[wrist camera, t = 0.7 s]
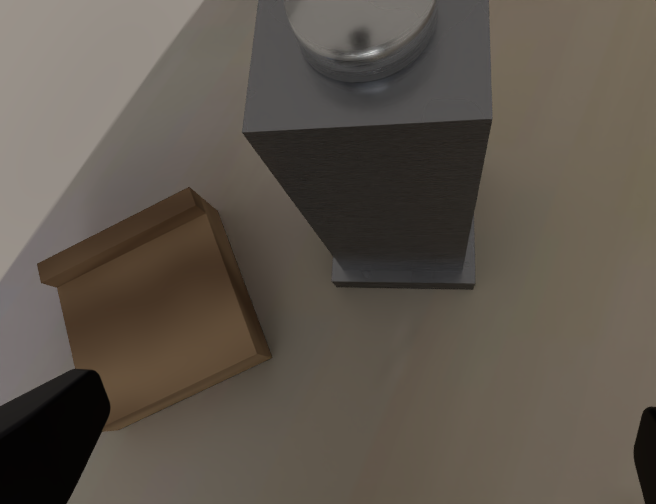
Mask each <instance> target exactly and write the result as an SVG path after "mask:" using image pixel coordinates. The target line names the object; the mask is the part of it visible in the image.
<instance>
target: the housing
mask: <svg viewBox="0 0 656 504" xmlns="http://www.w3.org/2000/svg"><path fill="white" fill-rule="evenodd" d="M491 123H492V91H491V60H490V28H489V0H258V8H257V16H256V24H255V32H254V40H253V48H252V56H251V64H250V72H249V80H248V88H247V96H246V104H245V112H244V120H243V129H242V133H243V134H244V136H245V137H246V139H247V140H248V141H249V143H250V144H251V145H252V147H253V148H254V149H255V151H256V152H257V154H258V155H259V156H260V158H261V159H262V160H263V162H264V163H265V164H266V166H267V167H268V168H269V170H270V171H271V173H272V174H273V175H274V177H275V178H276V179H277V181H278V182H279V183H280V185H281V186H282V187H283V189H284V190H285V192H286V193H287V194H288V196H289V197H290V198H291V200H292V201H293V202H294V204H295V205H296V207H297V208H298V209H299V211H300V212H301V213H302V215H303V216H304V217H305V219H306V220H307V221H308V223H309V224H310V226H311V227H312V228H313V230H314V231H315V232H316V234H317V235H318V236H319V238H320V239H321V240H322V242H323V243H324V245H325V246H326V247H327V249H328V250H329V251H330V253H331V254H332V255H333V265H332V282H333V284H334V285H335V286H336V287H357V288H411V289H466V290H473V289H474V286H475V246H474V210H475V205H476V200H477V195H478V189H479V184H480V179H481V174H482V169H483V164H484V159H485V154H486V149H487V144H488V139H489V133H490V128H491Z"/></svg>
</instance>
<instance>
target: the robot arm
mask: <svg viewBox="0 0 656 504" xmlns="http://www.w3.org/2000/svg"><path fill="white" fill-rule="evenodd" d="M110 409H111V406H110V401H109V398H108V396H107V393H106V390H105V388H104V385H103V382H102V380H101V377H100V375H99V374H98V373H97V372H96V371H95V370H91V369H72V370H70V371H68V372H66V373H64V374H62V375H60V376H58V377H56V378H54V379H52V380H50V381H48V382H46V383H44V384H43V385H41V386H39V387H37V388H35V389H33V390H31V391H29V392H27V393H25V394H23V395H21V396H19V397H17V398H15V399H13V400H11V401H9V402H7V403H5V404H3V405H2V406H0V504H67V502H68V500H69V498H70V497H71V495H72V493H73V491H74V489H75V487H76V485H77V483H78V481H79V479H80V477H81V474H82V472H83V470H84V468H85V466H86V464H87V462H88V460H89V458H90V455H91V453H92V451H93V449H94V447H95V445H96V443H97V441H98V439H99V437H100V434H101V432H102V430H103V428H104V426H105V424H106V422H107V420H108V417H109V414H110ZM634 462H635V466H636V470H637V474H638V478H639V482H640V486H641V489H642V493H643V497H644V501H645V504H656V407H648V408H646V409H645V410H644V411H643V414H642V417H641V421H640V425H639V429H638V433H637V437H636V441H635V445H634Z"/></svg>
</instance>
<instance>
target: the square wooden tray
mask: <svg viewBox="0 0 656 504" xmlns="http://www.w3.org/2000/svg"><path fill="white" fill-rule="evenodd" d="M37 266H38V271H39V276H40V280H41V283H43V284H46V285H50V286H53V287H57V289H58V294H59V298H60V303H61V307H62V312H63V316H64V321H65V325H66V329H67V334H68V338H69V343H70V347H71V352H72V356H73V361H74V365H75V369H91V370H95V371H96V372H97V373H98V374H99V375H100V377H101V380H102V382H103V385H104V388H105V390H106V393H107V396H108V398H109V401H110V406H111V409H110V414H109V417H108V420H107V422H106V424H105V426H104V428H103V430H102V432H104V431H114V430H120V429H122V428H124V427H126V426H128V425H130V424H132V423H134V422H137V421H139V420H141V419H143V418H145V417H147V416H149V415H151V414H154V413H156V412H158V411H160V410H162V409H164V408H166V407H168V406H171V405H173V404H175V403H177V402H179V401H181V400H183V399H185V398H188V397H190V396H192V395H194V394H196V393H198V392H200V391H202V390H205V389H207V388H209V387H211V386H213V385H215V384H217V383H219V382H222V381H224V380H226V379H228V378H230V377H232V376H234V375H236V374H239V373H241V372H243V371H245V370H247V369H249V368H251V367H253V366H256V365H258V364H260V363H262V362H264V361H266V360H268V359H270V358H272V356H271V353H270V350H269V348H268V345H267V342H266V339H265V337H264V334H263V331H262V329H261V326H260V323H259V321H258V318H257V315H256V313H255V310H254V307H253V305H252V302H251V299H250V297H249V294H248V291H247V289H246V286H245V283H244V281H243V278H242V275H241V273H240V270H239V267H238V265H237V262H236V259H235V257H234V254H233V251H232V249H231V246H230V243H229V241H228V238H227V235H226V233H225V230H224V227H223V224H222V222H221V219H220V216H219V214H218V211H217V210H216V209H215V208H213V207H212V206H211V205H210V204H209V203H208V202H206V201H205V200H204V199H203V198H202V197H201V196H199V195H198V194H197V193H196V192H195V191H193V190H192V189H191V188H190V187H188V188H186V189H184V190H182V191H180V192H178V193H176V194H174V195H172V196H170V197H168V198H166V199H164V200H162V201H160V202H158V203H157V204H155V205H153V206H151V207H149V208H147V209H145V210H143V211H141V212H139V213H137V214H135V215H133V216H131V217H129V218H127V219H125V220H123V221H121V222H119V223H117V224H115V225H113V226H111V227H109V228H107V229H105V230H103V231H101V232H99V233H97V234H95V235H93V236H91V237H89V238H87V239H85V240H83V241H81V242H79V243H77V244H75V245H73V246H71V247H69V248H67V249H65V250H64V251H62V252H60V253H58V254H56V255H54V256H52V257H50V258H48V259H46V260H44V261H42V262H40V263H38V264H37Z"/></svg>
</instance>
